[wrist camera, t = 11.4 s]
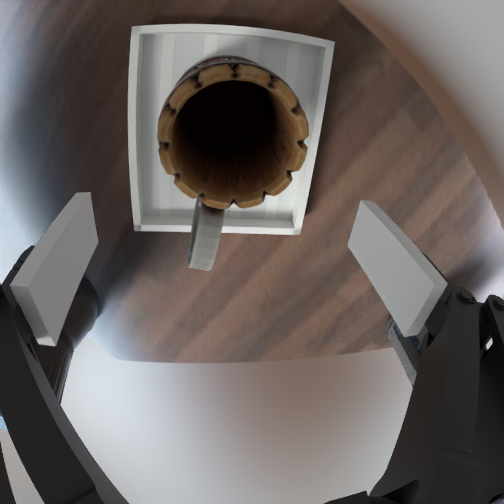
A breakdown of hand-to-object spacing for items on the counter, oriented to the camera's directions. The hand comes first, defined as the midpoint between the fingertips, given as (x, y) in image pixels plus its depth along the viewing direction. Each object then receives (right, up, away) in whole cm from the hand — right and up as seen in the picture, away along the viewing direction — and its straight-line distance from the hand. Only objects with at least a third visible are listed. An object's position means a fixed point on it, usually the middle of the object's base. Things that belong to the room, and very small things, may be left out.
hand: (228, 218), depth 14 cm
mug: (-2, +11, +15) cm, 18 cm away
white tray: (-2, +11, +16) cm, 19 cm away
